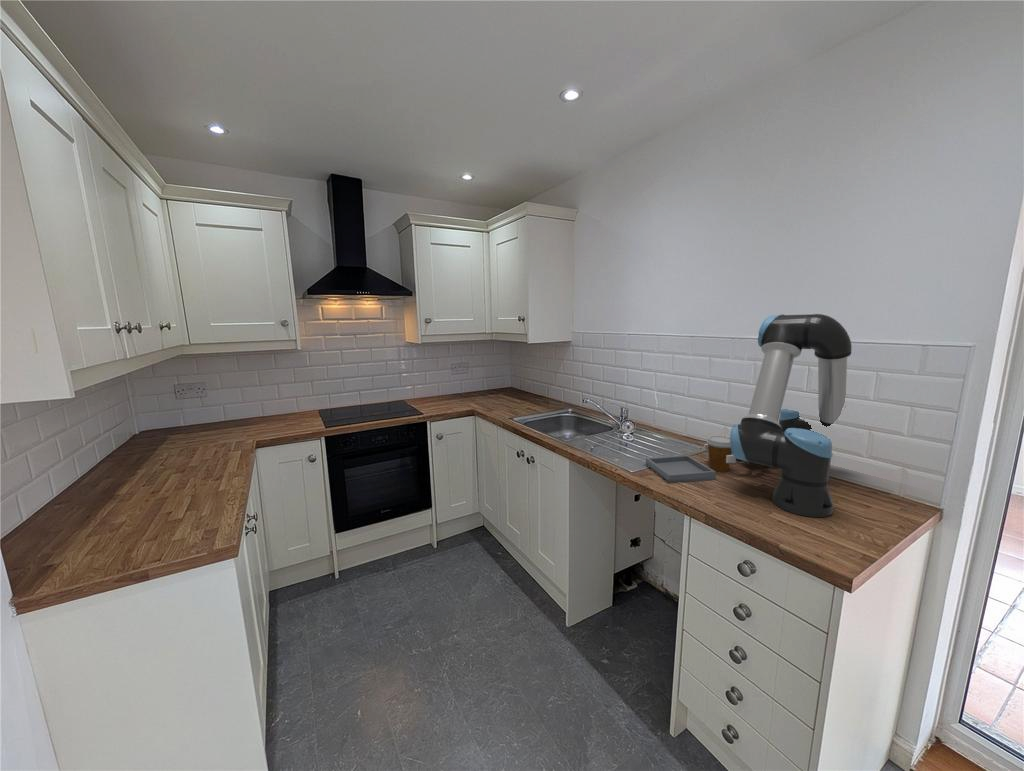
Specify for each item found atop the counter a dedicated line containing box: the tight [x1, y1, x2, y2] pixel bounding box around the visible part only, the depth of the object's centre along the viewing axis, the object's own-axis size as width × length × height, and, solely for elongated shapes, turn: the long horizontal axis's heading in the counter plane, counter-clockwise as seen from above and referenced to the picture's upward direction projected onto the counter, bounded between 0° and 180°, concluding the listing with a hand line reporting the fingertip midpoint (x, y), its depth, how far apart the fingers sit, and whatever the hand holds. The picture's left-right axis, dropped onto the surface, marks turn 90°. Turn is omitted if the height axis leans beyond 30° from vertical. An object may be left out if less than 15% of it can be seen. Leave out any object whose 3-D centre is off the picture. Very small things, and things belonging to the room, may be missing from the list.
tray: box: [645, 454, 717, 484], centre depth 152 cm, size 18×18×3 cm
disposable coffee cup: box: [706, 435, 733, 473], centre depth 153 cm, size 10×10×12 cm
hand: (715, 453), depth 153 cm, fingers open, 13 cm apart
